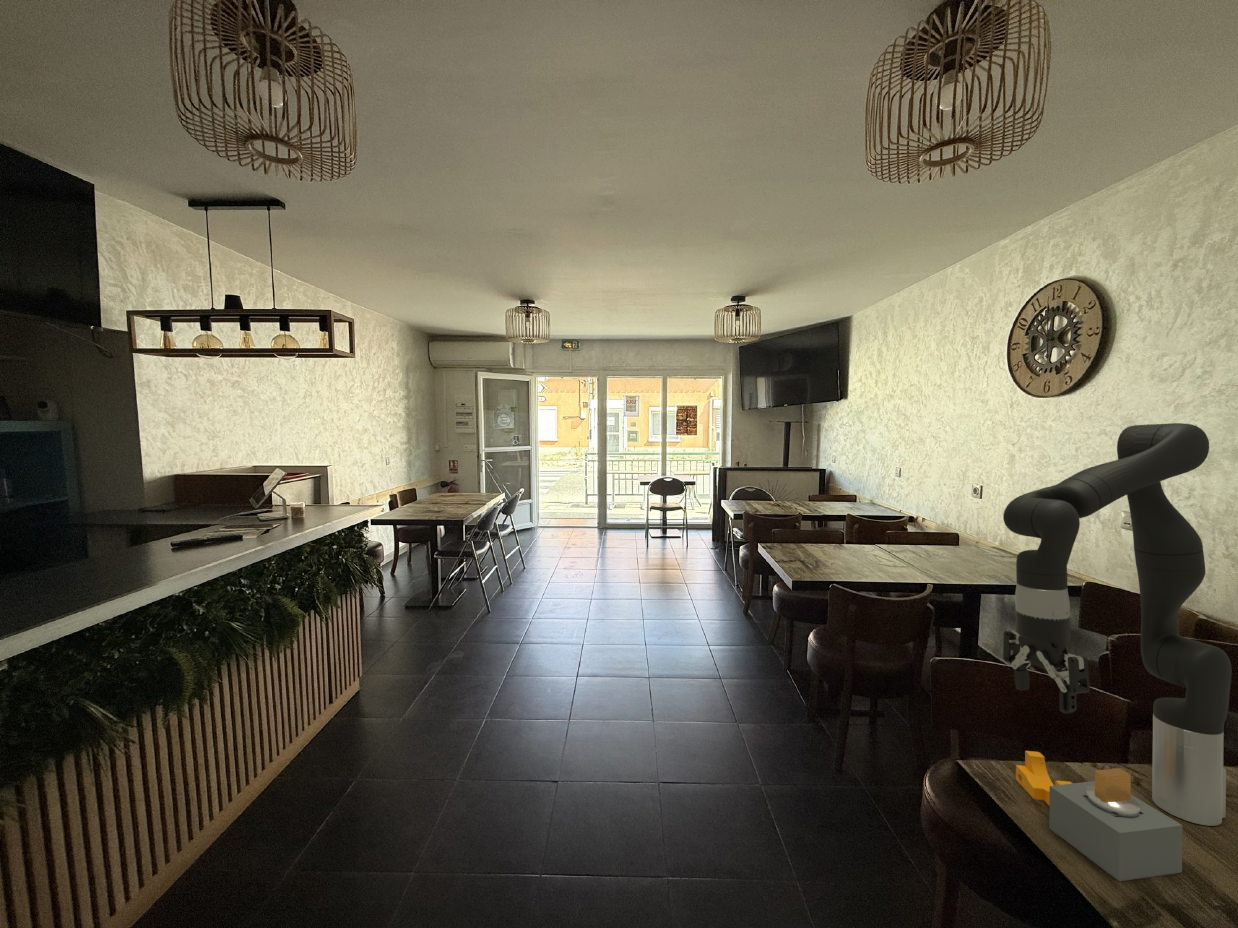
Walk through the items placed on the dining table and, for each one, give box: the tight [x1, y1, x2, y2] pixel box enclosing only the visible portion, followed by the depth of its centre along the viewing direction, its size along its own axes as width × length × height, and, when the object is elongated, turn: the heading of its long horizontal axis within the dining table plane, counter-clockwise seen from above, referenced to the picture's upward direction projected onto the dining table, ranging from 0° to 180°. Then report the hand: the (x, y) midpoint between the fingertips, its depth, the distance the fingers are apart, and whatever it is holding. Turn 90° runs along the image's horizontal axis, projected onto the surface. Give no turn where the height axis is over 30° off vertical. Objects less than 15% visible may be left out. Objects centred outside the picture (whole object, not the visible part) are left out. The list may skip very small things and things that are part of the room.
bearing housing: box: [1048, 780, 1184, 882], centre depth 91 cm, size 12×12×8 cm
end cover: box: [1086, 767, 1140, 817], centre depth 91 cm, size 7×7×9 cm
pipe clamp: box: [1015, 750, 1073, 806], centre depth 105 cm, size 12×4×6 cm, turn 169°
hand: (1043, 700), depth 93 cm, fingers open, 8 cm apart
